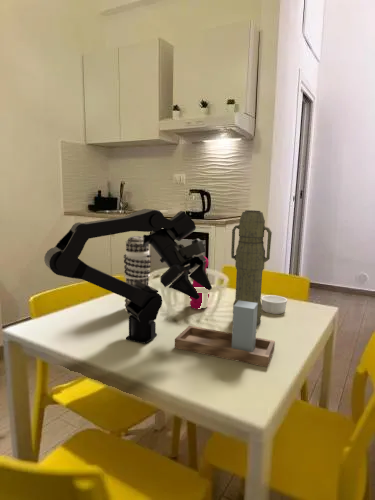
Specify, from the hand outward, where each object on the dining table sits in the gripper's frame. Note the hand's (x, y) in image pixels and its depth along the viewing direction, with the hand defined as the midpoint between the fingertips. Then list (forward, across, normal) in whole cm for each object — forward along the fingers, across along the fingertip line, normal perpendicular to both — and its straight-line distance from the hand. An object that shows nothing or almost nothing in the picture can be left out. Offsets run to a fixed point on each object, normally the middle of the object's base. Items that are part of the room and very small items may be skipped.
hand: (204, 293), depth 92 cm
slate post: (+17, -2, +1) cm, 17 cm away
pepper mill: (+1, +27, +18) cm, 33 cm away
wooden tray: (+14, -2, +5) cm, 15 cm away
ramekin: (+19, +36, +1) cm, 40 cm away
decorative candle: (-11, +15, +31) cm, 36 cm away
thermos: (+15, +20, +5) cm, 26 cm away
